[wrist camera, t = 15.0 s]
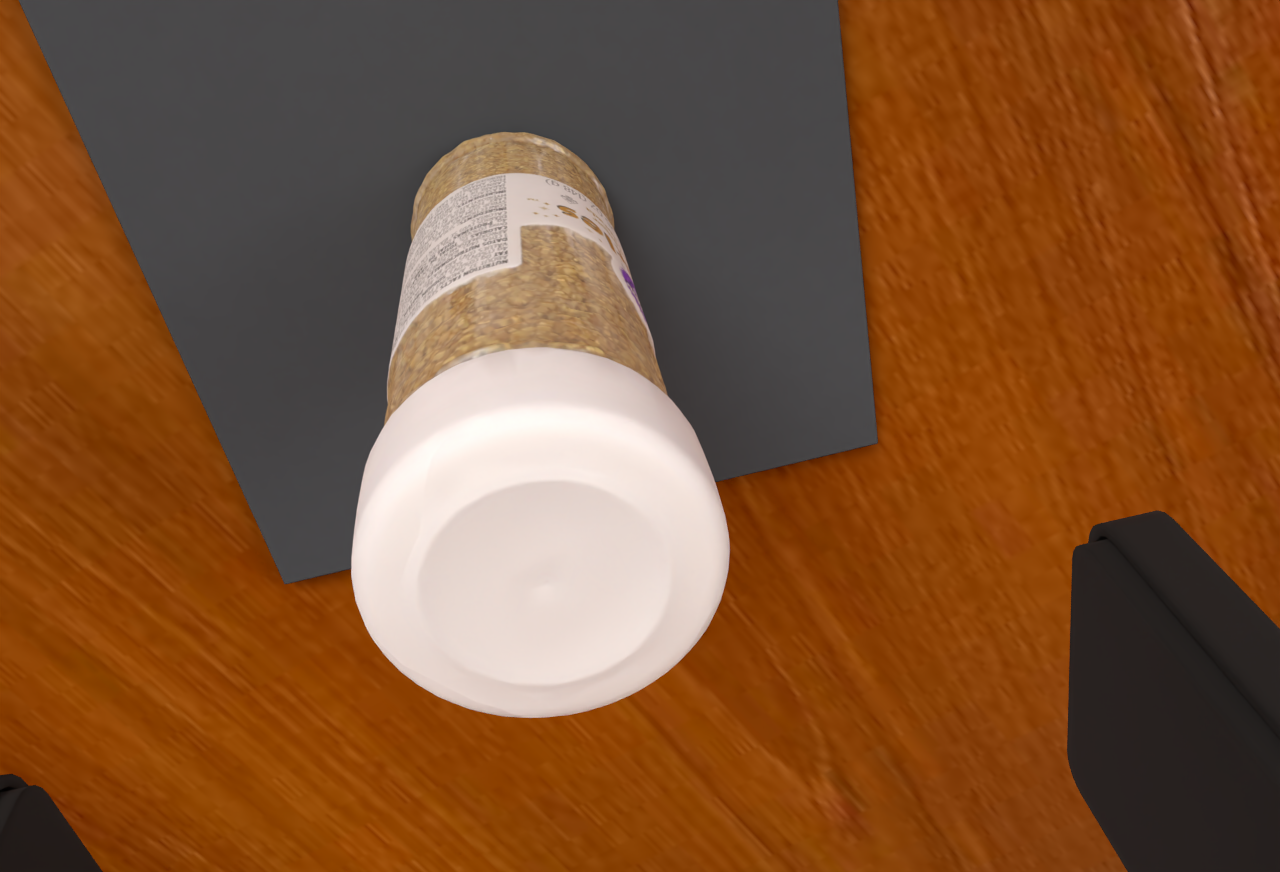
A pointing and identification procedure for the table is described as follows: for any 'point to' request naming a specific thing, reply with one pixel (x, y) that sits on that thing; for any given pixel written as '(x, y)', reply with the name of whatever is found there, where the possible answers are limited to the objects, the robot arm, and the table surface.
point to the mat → (395, 169)
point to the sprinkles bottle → (530, 453)
